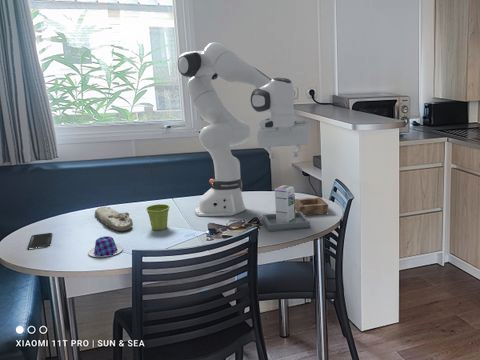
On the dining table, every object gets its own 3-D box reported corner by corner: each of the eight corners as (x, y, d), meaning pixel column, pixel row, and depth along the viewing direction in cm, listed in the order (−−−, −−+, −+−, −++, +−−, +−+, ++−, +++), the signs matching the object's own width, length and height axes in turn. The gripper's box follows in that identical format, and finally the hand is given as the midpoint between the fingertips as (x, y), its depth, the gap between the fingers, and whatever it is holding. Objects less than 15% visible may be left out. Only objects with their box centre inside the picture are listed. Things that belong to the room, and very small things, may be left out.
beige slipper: (112, 213, 226) (90, 219, 221) (110, 202, 224) (88, 207, 219) (139, 228, 196) (115, 235, 191) (137, 215, 195) (113, 222, 190)
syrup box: (288, 225, 189) (287, 189, 186) (275, 223, 193) (274, 187, 189) (295, 221, 194) (295, 186, 190) (282, 219, 197) (281, 184, 194)
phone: (27, 247, 179) (31, 235, 193) (27, 250, 179) (32, 237, 193) (50, 244, 181) (52, 232, 195) (50, 247, 181) (53, 235, 195)
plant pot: (176, 226, 198) (174, 205, 196) (160, 233, 190) (158, 212, 188) (159, 223, 203) (157, 203, 201) (142, 229, 195) (140, 209, 193)
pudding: (108, 244, 181) (106, 231, 180) (130, 250, 175) (128, 236, 173) (81, 255, 172) (79, 241, 171) (103, 261, 165) (101, 247, 164)
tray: (268, 231, 186) (268, 225, 185) (262, 220, 200) (262, 214, 199) (309, 228, 188) (309, 221, 187) (301, 217, 201) (301, 211, 201)
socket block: (300, 216, 203) (299, 206, 202) (293, 208, 215) (293, 199, 214) (328, 213, 204) (328, 204, 203) (320, 205, 216) (320, 197, 215)
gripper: (307, 119, 189) (308, 154, 192) (255, 122, 186) (256, 157, 190) (311, 120, 182) (312, 157, 186) (257, 124, 180) (259, 160, 184)
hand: (283, 157), depth 188 cm, fingers open, 8 cm apart
